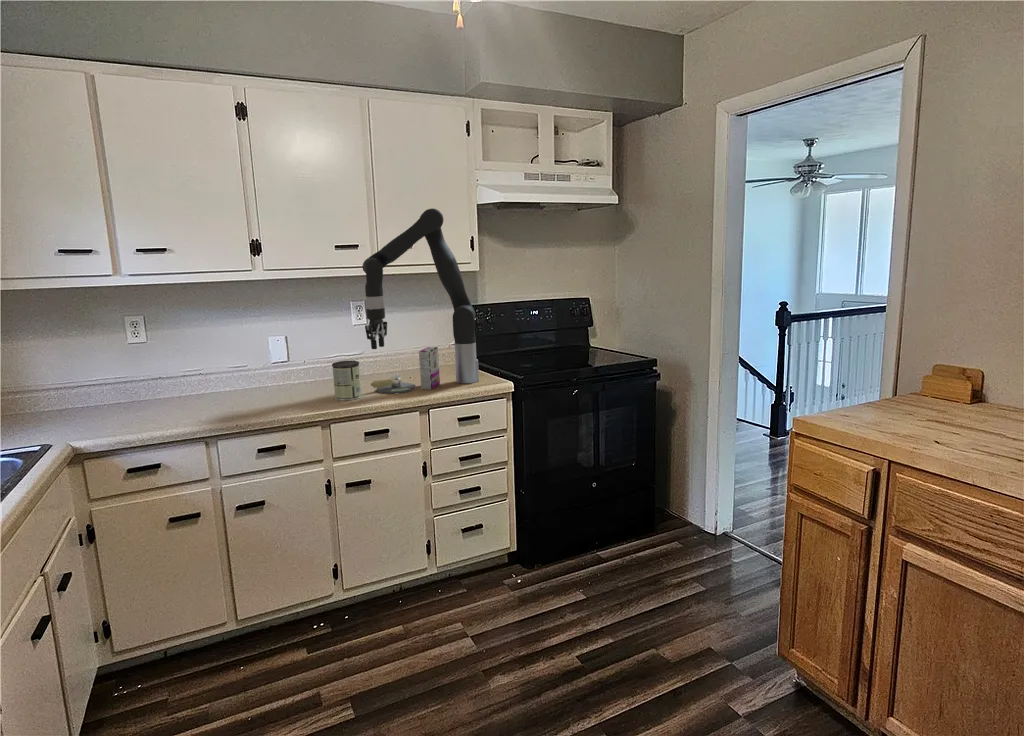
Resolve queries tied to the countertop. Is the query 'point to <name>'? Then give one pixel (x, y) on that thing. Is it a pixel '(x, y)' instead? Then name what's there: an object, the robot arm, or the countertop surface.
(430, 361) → the candy bar box
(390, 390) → the dial plate
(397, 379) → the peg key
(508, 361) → the countertop surface
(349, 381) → the coffee can
